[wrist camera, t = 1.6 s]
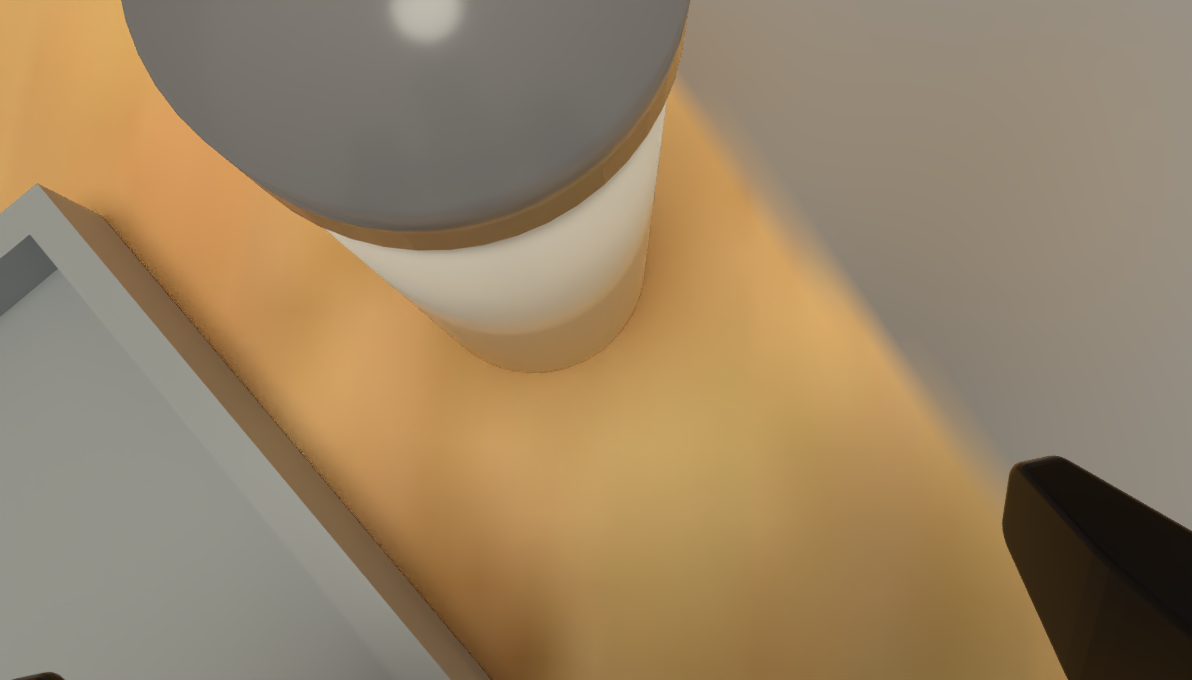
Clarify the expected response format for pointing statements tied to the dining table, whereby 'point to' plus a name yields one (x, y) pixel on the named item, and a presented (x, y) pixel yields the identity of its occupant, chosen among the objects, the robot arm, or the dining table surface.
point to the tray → (168, 494)
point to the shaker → (446, 145)
